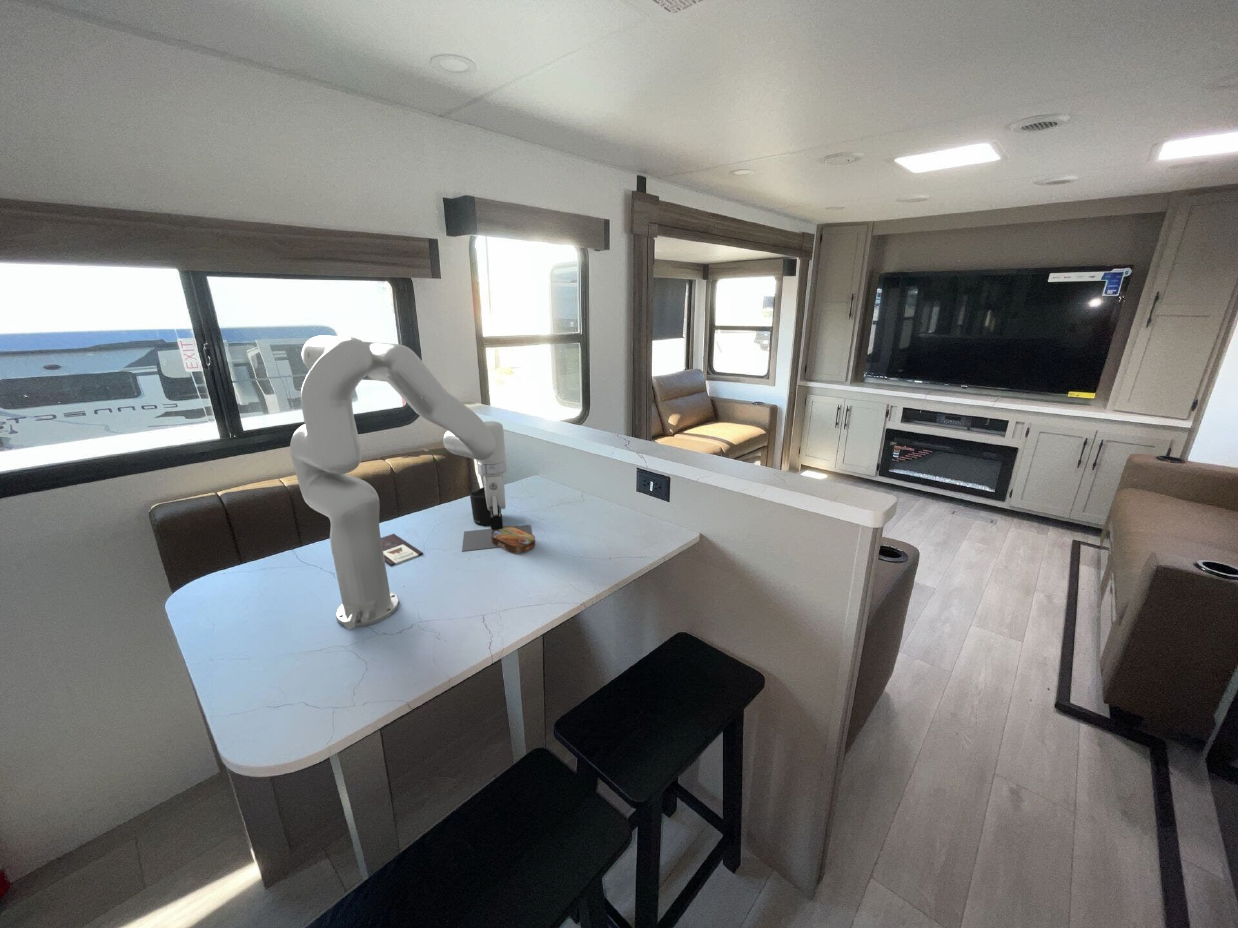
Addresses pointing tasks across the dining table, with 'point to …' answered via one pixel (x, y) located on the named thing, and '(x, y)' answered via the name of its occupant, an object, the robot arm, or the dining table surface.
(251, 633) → the dining table surface
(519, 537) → the tin
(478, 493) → the pen holder
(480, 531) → the mat
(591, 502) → the dining table surface
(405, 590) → the dining table surface
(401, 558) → the chocolate bar
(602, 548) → the dining table surface
